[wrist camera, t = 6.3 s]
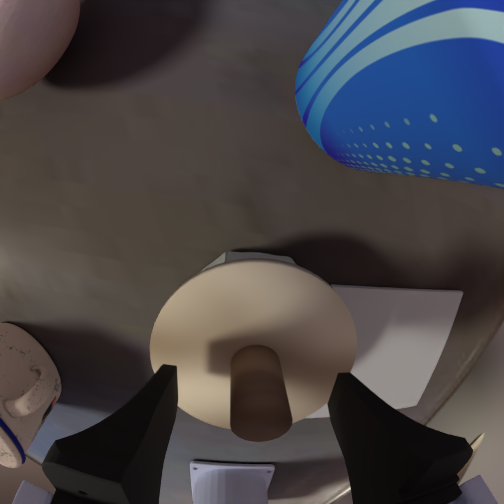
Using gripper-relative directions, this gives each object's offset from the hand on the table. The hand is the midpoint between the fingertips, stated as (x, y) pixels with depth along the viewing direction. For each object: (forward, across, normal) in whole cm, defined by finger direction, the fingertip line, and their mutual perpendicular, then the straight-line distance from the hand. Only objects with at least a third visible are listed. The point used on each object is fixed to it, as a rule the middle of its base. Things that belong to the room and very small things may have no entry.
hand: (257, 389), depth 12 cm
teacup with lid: (+7, +18, +7) cm, 20 cm away
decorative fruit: (+7, +15, -17) cm, 24 cm away
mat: (+7, -10, +3) cm, 13 cm away
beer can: (+7, -5, -14) cm, 16 cm away
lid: (+3, 0, 0) cm, 3 cm away
